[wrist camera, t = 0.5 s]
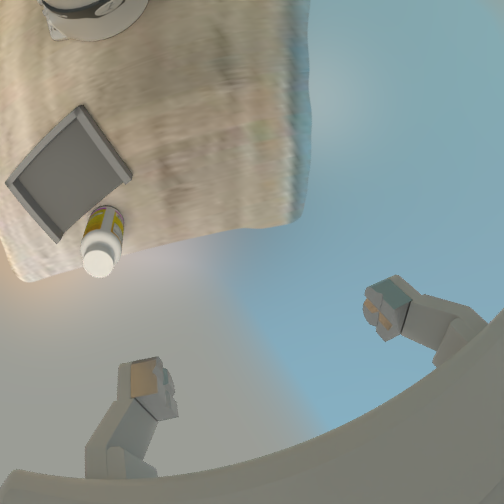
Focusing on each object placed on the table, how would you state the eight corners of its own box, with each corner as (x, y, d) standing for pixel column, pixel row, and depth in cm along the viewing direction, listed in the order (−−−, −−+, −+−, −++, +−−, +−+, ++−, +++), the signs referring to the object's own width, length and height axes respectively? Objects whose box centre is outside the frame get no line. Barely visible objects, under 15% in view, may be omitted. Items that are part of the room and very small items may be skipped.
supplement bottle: (85, 231, 42) (71, 275, 32) (95, 199, 40) (81, 237, 30) (117, 243, 46) (112, 288, 36) (130, 212, 44) (126, 252, 34)
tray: (11, 177, 31) (4, 182, 29) (83, 104, 31) (78, 105, 29) (60, 235, 41) (56, 244, 38) (132, 174, 41) (131, 180, 38)
